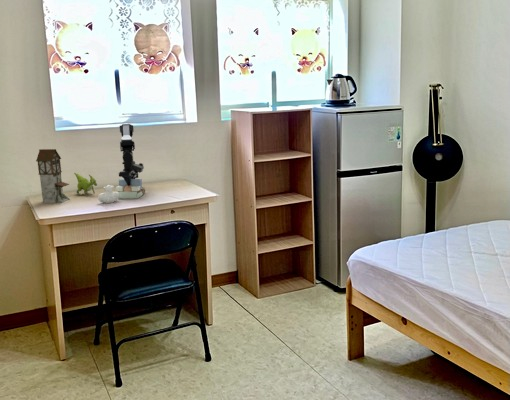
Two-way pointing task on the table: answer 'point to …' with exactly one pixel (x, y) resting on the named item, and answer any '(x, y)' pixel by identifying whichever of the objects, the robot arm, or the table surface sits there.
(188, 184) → the table surface
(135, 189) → the tile
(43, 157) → the model building
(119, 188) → the tile
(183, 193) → the table surface
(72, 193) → the table surface
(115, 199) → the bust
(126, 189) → the tile
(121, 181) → the long blue block
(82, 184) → the toy
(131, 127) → the robot arm
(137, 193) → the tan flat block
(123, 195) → the tray
